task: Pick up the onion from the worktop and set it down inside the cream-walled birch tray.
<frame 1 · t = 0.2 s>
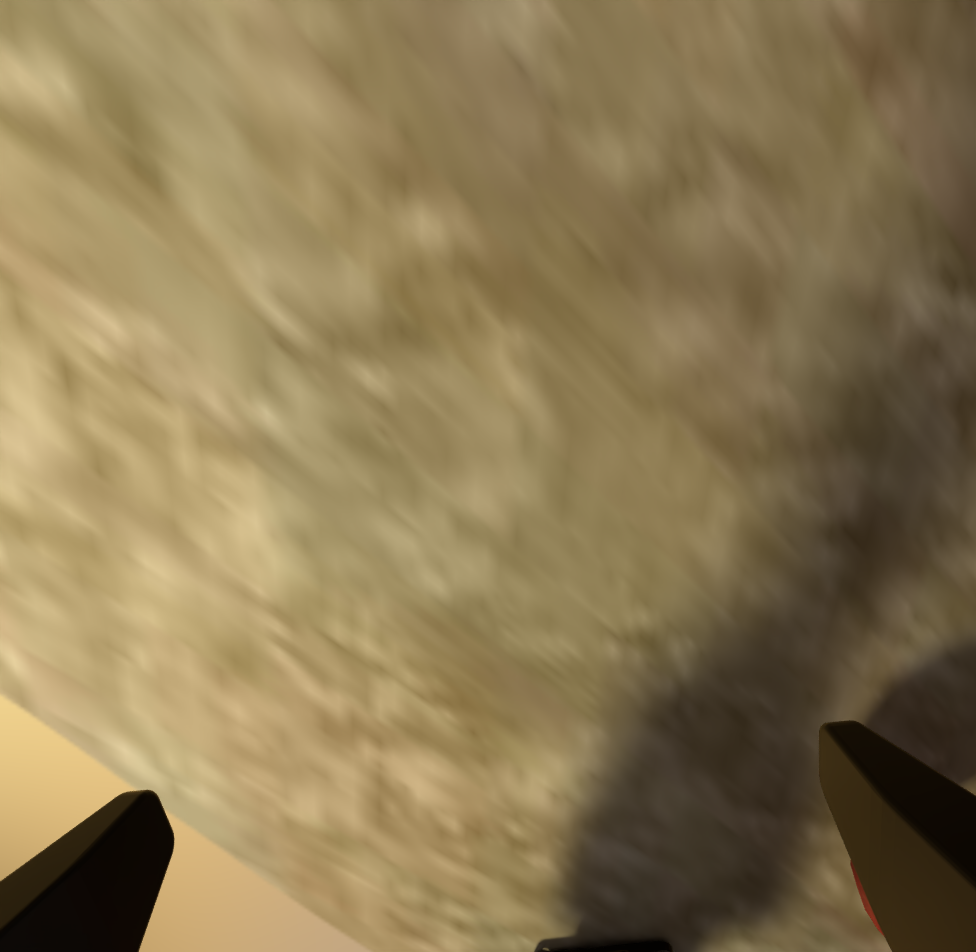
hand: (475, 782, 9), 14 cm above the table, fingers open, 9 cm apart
onion: (886, 792, 26), on the table
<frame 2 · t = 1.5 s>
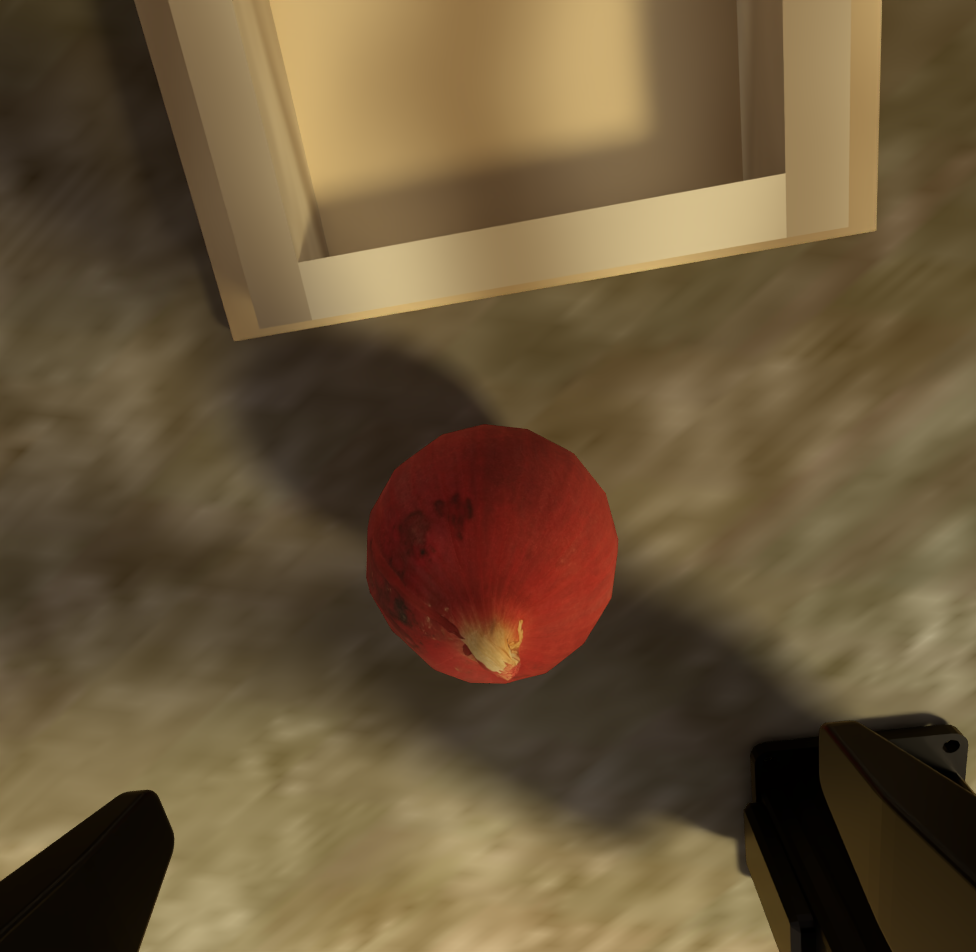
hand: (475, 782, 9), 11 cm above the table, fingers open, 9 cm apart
onion: (496, 491, 19), on the table
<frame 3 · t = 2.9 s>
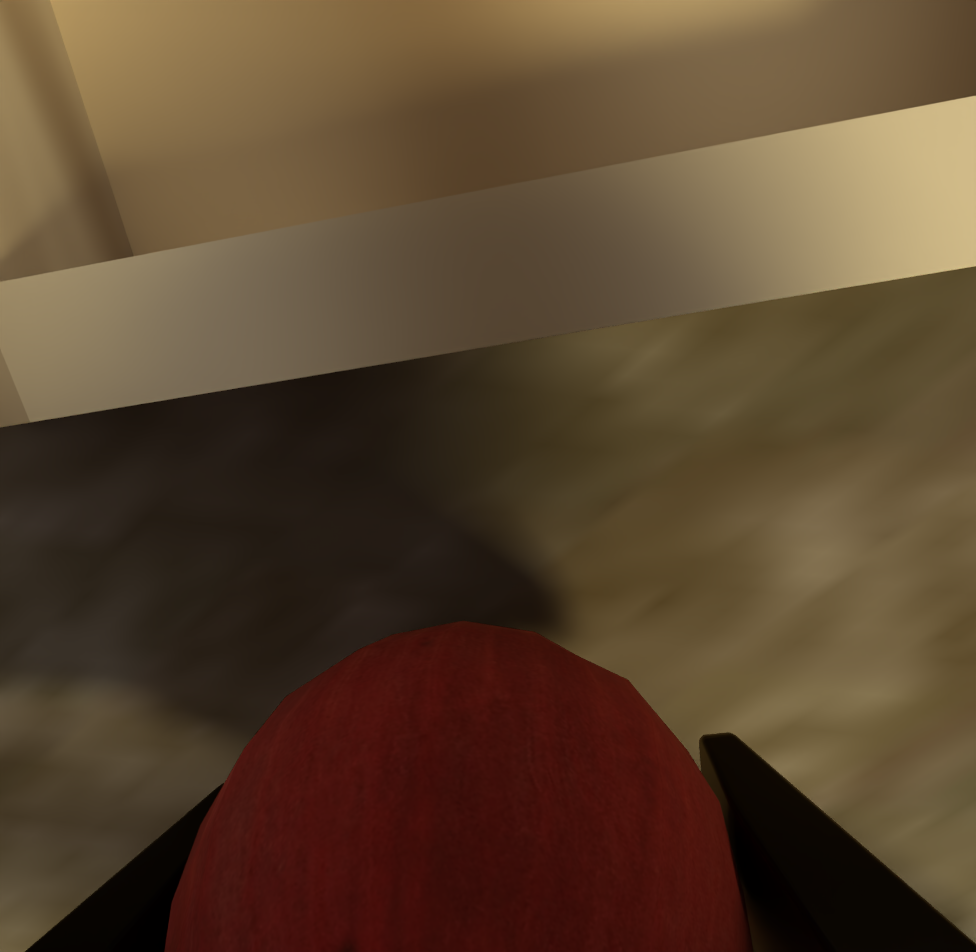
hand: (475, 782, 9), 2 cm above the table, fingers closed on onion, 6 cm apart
onion: (484, 677, 11), on the table, touching gripper
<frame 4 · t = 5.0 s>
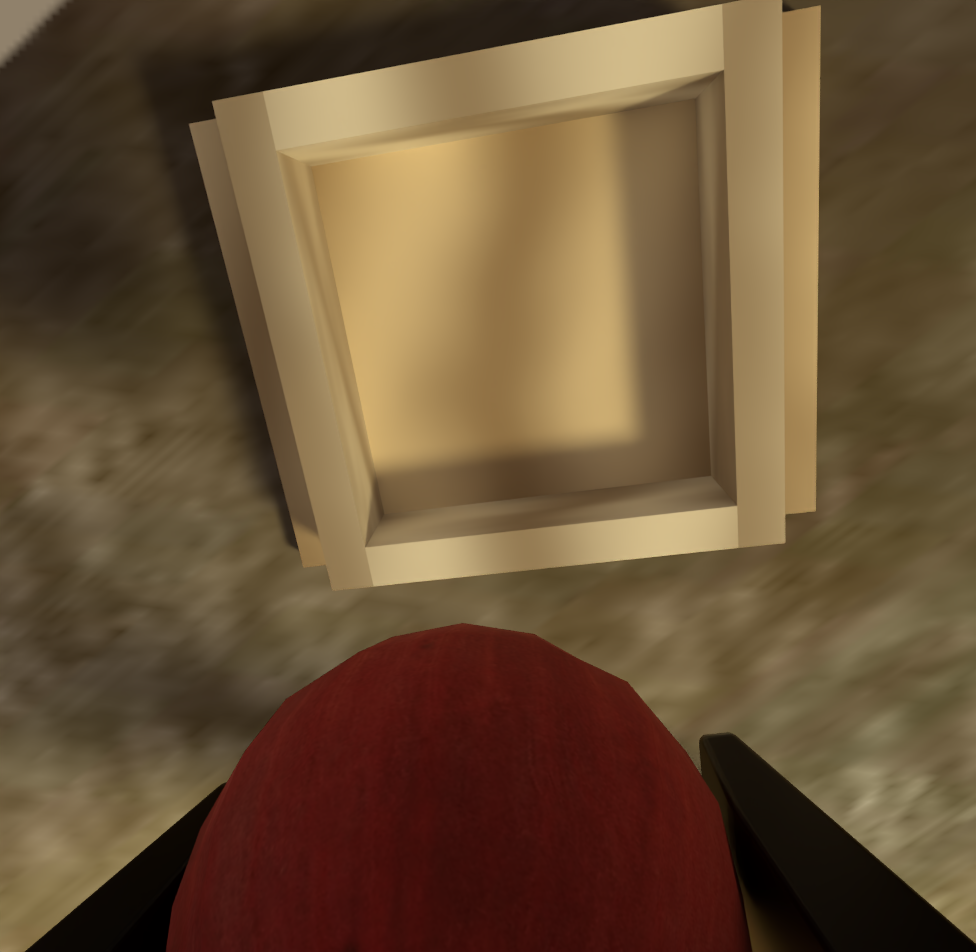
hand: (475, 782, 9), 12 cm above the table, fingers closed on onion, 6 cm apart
onion: (483, 679, 11), point 10 cm above the table, touching gripper
tray: (522, 327, 19), on the table
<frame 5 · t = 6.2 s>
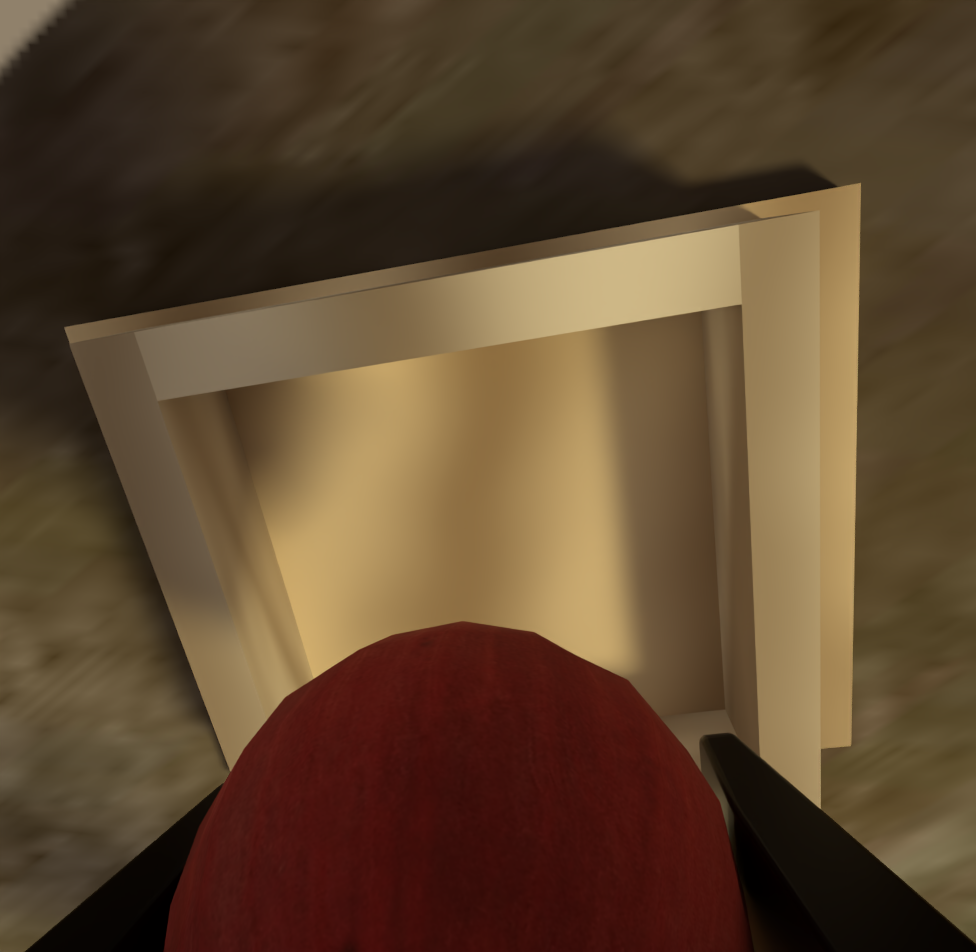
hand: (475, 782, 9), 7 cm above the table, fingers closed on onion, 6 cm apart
onion: (483, 678, 11), point 5 cm above the table, touching gripper
tray: (493, 539, 15), on the table
when the fingers open (4 cm above the table, at t = 7.2 s): onion drops 1 cm, resting on tray.
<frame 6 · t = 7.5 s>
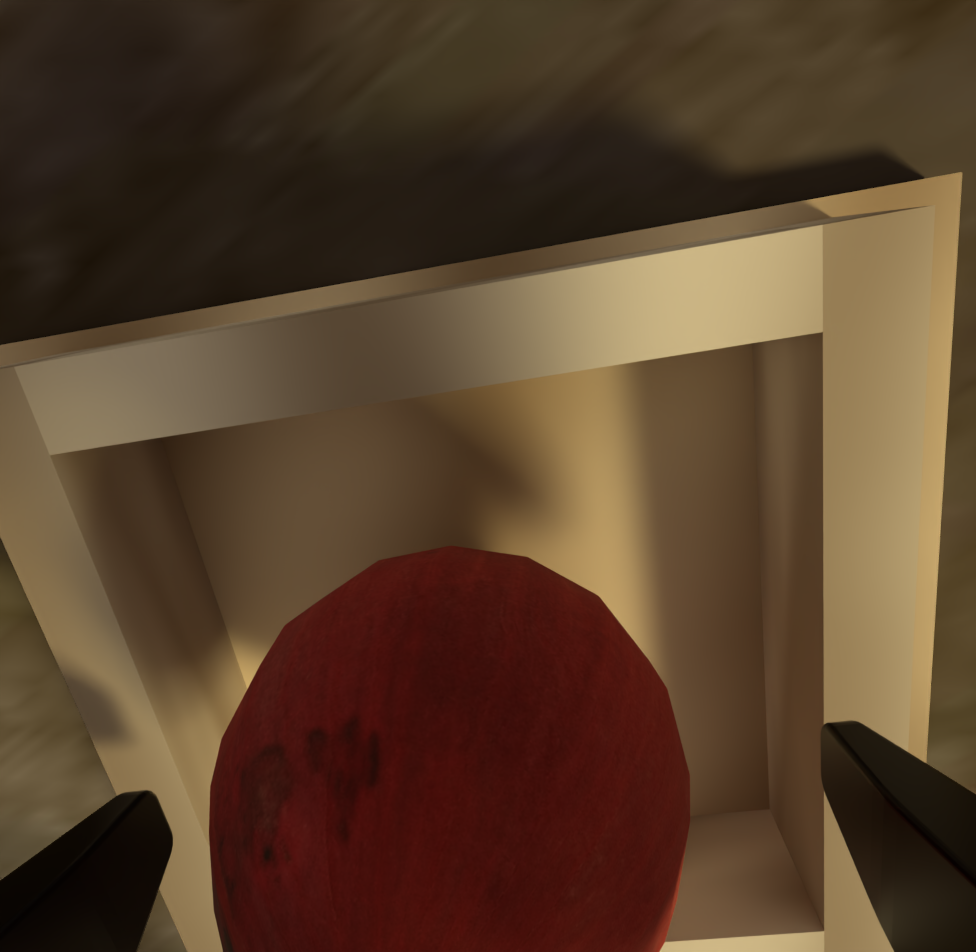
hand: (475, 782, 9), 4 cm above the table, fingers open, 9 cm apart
onion: (490, 630, 12), point 1 cm above the table, touching tray
tray: (490, 606, 13), on the table
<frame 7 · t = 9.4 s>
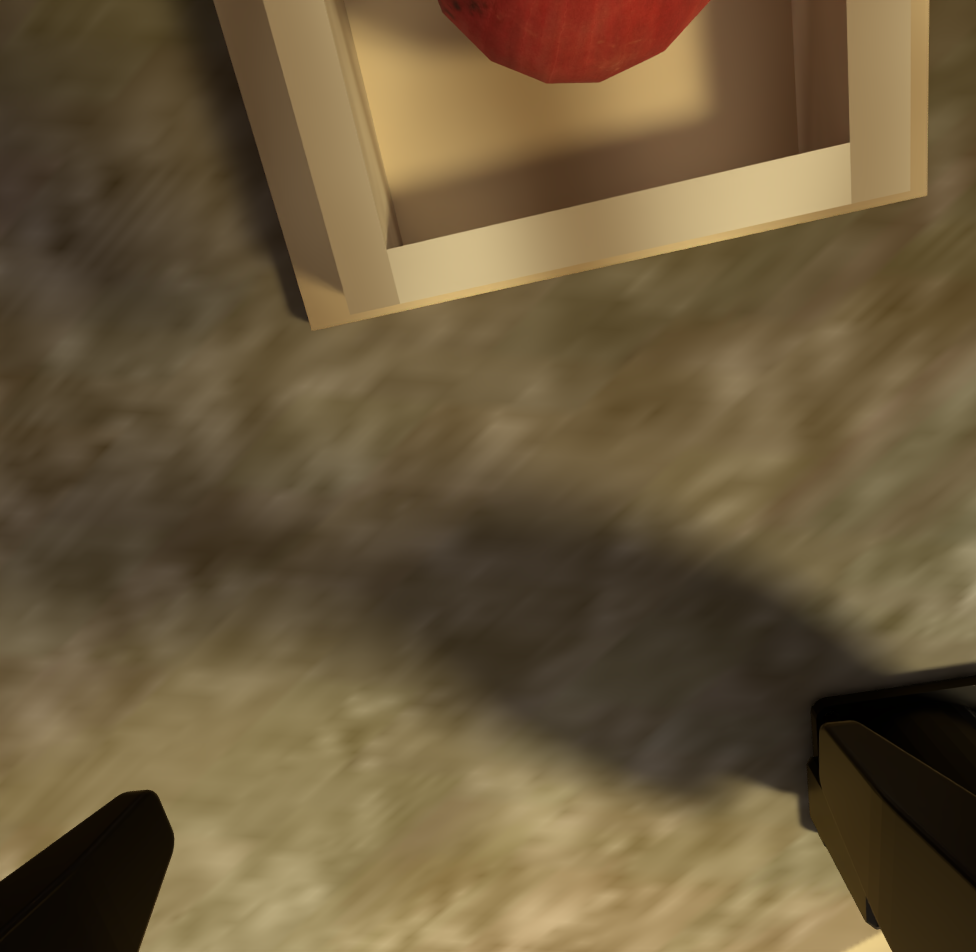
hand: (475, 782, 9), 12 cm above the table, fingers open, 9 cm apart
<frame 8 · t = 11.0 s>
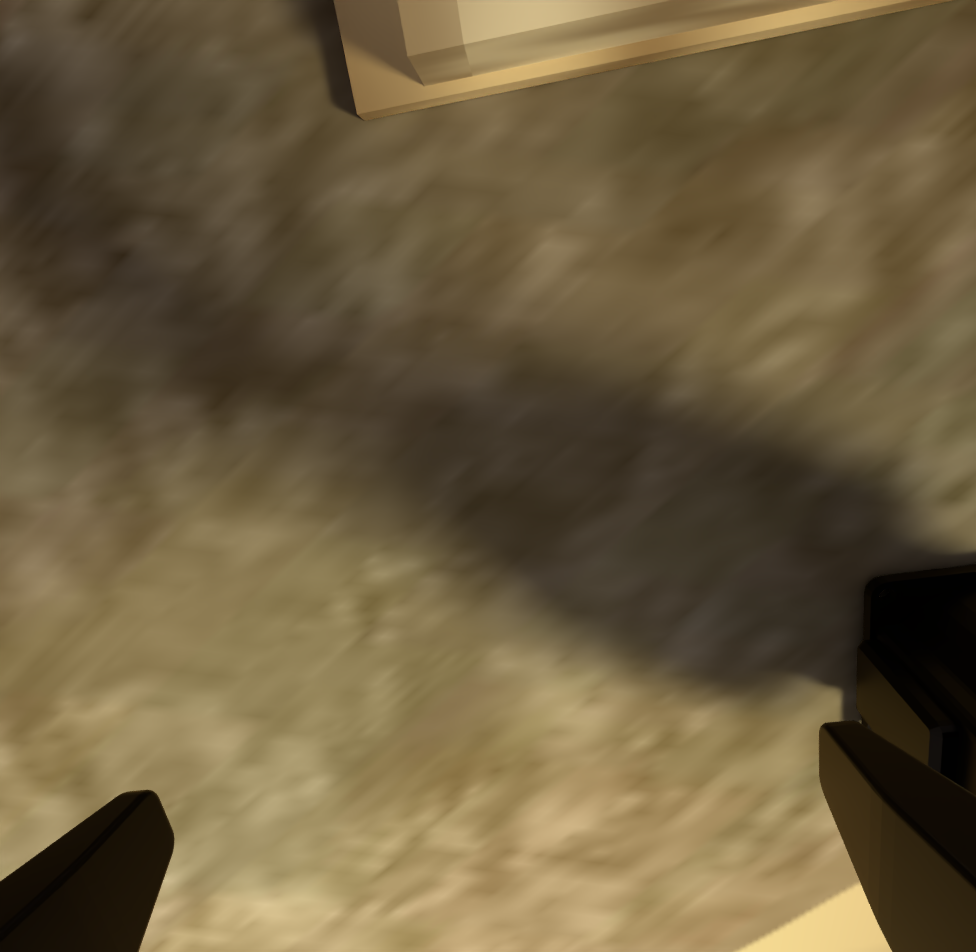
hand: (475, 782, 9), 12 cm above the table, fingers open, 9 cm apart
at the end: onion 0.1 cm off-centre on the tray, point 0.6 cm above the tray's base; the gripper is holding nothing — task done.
